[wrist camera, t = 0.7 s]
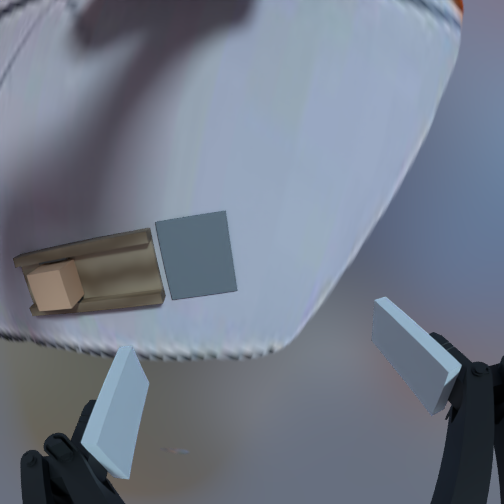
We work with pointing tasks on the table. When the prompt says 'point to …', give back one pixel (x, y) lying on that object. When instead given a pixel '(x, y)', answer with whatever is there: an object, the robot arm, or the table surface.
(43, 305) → the block
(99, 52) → the table surface
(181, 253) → the mat
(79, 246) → the chute
